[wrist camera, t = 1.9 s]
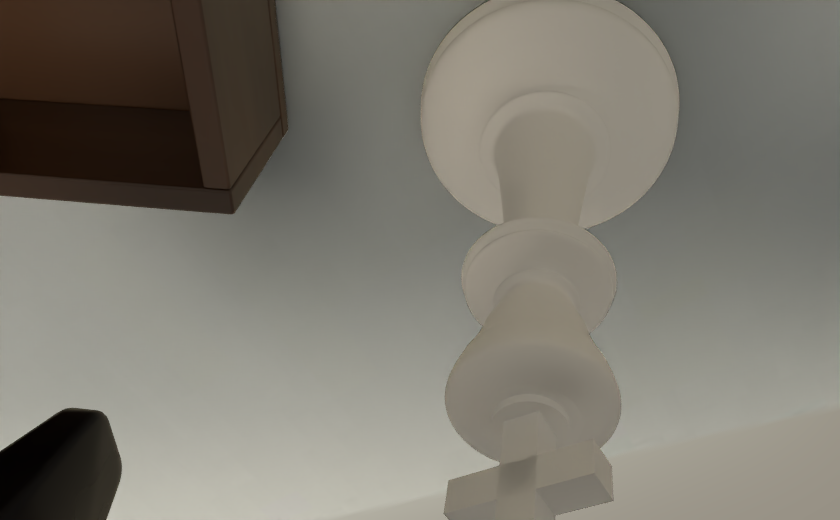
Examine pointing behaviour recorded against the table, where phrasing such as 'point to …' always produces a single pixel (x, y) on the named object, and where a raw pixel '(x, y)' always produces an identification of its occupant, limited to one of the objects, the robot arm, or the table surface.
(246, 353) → the table surface
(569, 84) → the chess piece
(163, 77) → the grid
